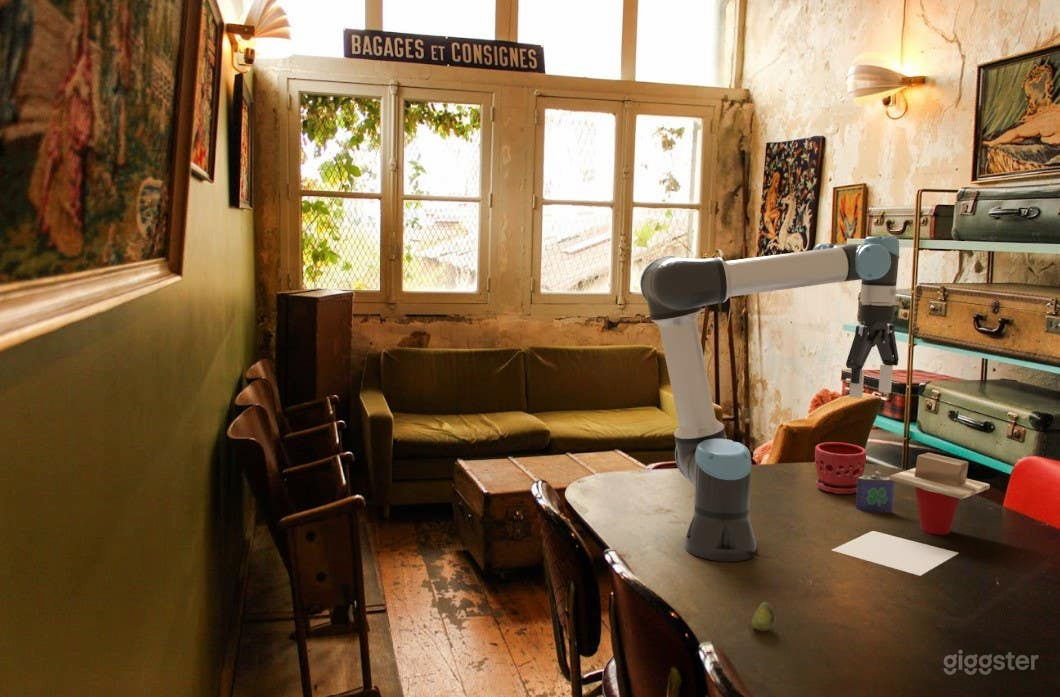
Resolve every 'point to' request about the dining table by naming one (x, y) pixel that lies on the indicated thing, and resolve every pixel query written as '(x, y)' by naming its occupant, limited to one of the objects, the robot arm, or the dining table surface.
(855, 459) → the plant pot
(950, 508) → the plastic cup
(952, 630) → the dining table surface
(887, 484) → the flask
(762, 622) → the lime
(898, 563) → the mat
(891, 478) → the lid
